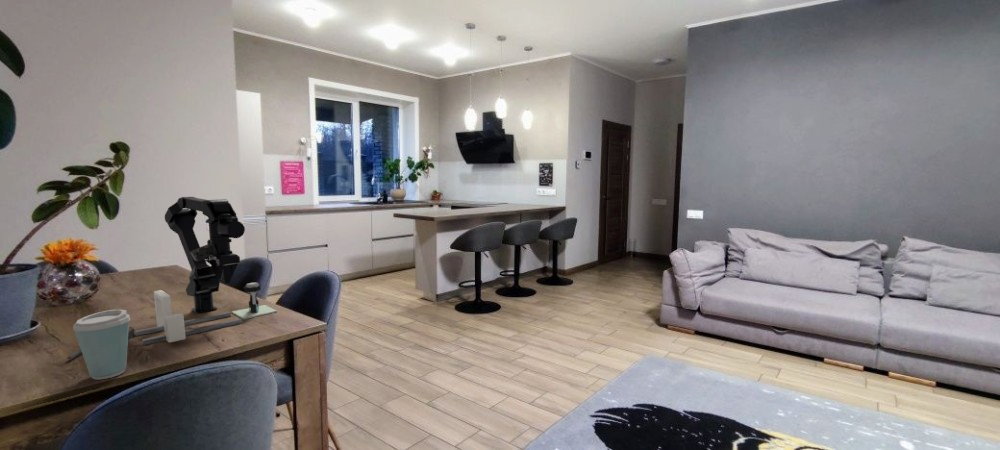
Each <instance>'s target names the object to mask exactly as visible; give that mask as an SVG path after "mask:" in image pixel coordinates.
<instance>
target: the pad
mask: <svg viewBox="0 0 1000 450" xmlns="http://www.w3.org/2000/svg"><path fill="white" fill-rule="evenodd" d="M258 306H259V310H258V312H257V313H251V309H250V312H249V307H248V308H242V309H239V310H232V311H231V312H232V313H231V314H233V315H235V316H237V317H238V318H239V319H242V320H248V319H251V318H257V317H261V316H265V315H271V314H274V313H277V312H278V311H277V310H276V309H274V308H272V307H270V306H269V305H266V304H263V305H258Z"/></svg>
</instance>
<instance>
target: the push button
mask: <svg viewBox="0 0 1000 450" xmlns="http://www.w3.org/2000/svg"><path fill="white" fill-rule="evenodd" d="M261 288H262V285H261V284H259V282H250V283H249V282H248V283H246V285H245V286H243V289H244V292H246V293H247V294H249V297H250V298H249V301H248V308H249V312H250V309H251V313H257V312H258V310H259V306H260V304H259V300H258V298H257V294H256V293H258V292H259V291H261Z"/></svg>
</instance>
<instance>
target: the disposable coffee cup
mask: <svg viewBox="0 0 1000 450" xmlns="http://www.w3.org/2000/svg"><path fill="white" fill-rule="evenodd" d="M130 316H131V315H130V314H128V313H127V310H126V309H108V310H104V311H99V312H95V313H91V314H89V315H85V316H84V317H82V318H79V319H77V321H76V322H75V323H74V324H73V326H72V331H74V334H75V336H76V337H75V338H76V340H77V342H78V345H79V348H80V349H81V351H82V353H81V354H82V357H83V360H84V362H85V363H84V364H85V365H86V367H87V371H88V374H89V376H90V377H91V379H93V380H106V379H110V378H114V377H116V376H120V375H121V374H123V373H125V372H126V368H127V361H128V360H127V359H128V346H129V345H128V344H129V340H128V329H129V327H130V324H129V323H130V321H131V317H130Z"/></svg>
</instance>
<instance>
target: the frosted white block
mask: <svg viewBox="0 0 1000 450" xmlns="http://www.w3.org/2000/svg"><path fill="white" fill-rule="evenodd" d="M153 295H154V297H153V299H154V306H155V320H156V327H160V326H164V330H163V331H164V335H166V340H165V341H166V342H168V343H173V342H179V341H183V340H185V339H186V336H185V330H186V327H185V325H184V321H185V318H184V317H185V316H184V314H183V313H181V312H180V313H175V314H173V312H172V300H171V295H170V294H168V293H166V292H165V291H163V290H162V289H159V290H154V291H153Z"/></svg>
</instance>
